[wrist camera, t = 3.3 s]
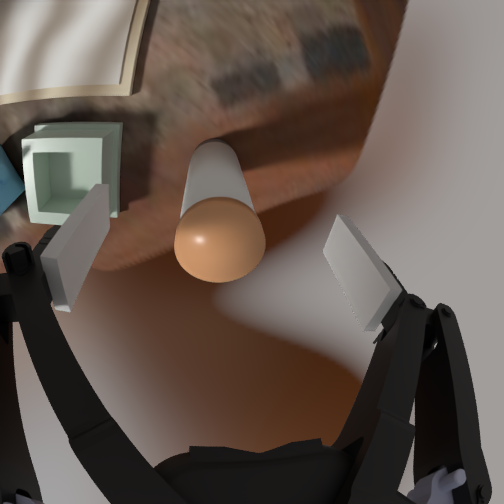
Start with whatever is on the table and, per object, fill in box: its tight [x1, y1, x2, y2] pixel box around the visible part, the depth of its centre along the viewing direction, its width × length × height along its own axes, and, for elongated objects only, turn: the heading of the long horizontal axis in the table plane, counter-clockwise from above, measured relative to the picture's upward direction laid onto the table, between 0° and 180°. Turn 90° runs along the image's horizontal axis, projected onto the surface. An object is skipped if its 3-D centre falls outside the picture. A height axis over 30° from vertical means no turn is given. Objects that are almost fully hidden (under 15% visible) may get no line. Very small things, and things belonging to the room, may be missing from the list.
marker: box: [174, 139, 266, 282], centre depth 19 cm, size 4×4×14 cm
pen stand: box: [22, 122, 123, 225], centre depth 21 cm, size 9×9×4 cm
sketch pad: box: [0, 0, 151, 105], centre depth 13 cm, size 18×14×1 cm
